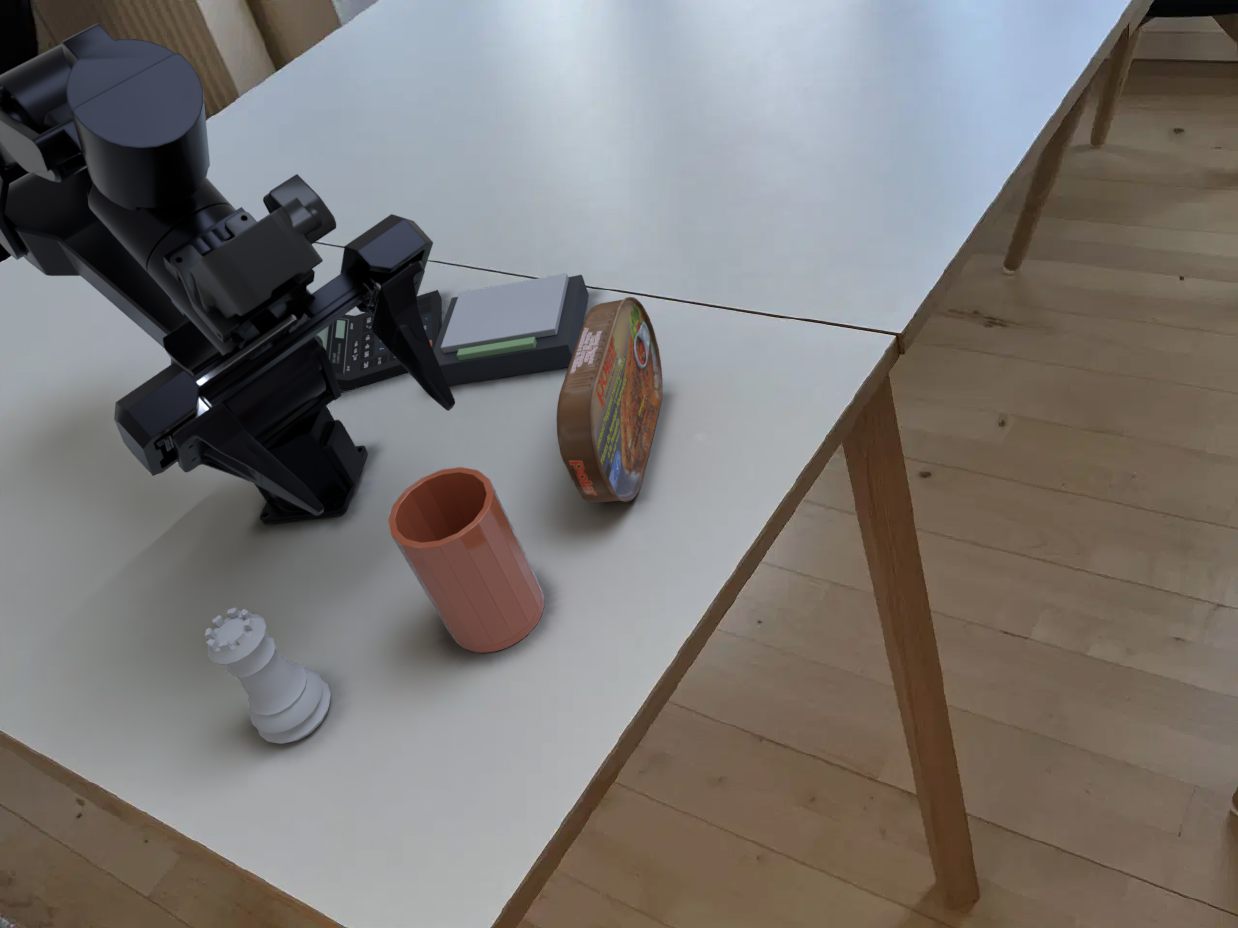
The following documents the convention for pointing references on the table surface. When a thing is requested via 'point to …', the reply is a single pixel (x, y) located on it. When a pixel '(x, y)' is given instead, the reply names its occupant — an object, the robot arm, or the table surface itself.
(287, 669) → the rook chess piece
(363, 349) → the calculator
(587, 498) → the tin
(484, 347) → the scale
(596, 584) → the table surface
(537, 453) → the table surface
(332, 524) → the table surface
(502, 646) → the cup
